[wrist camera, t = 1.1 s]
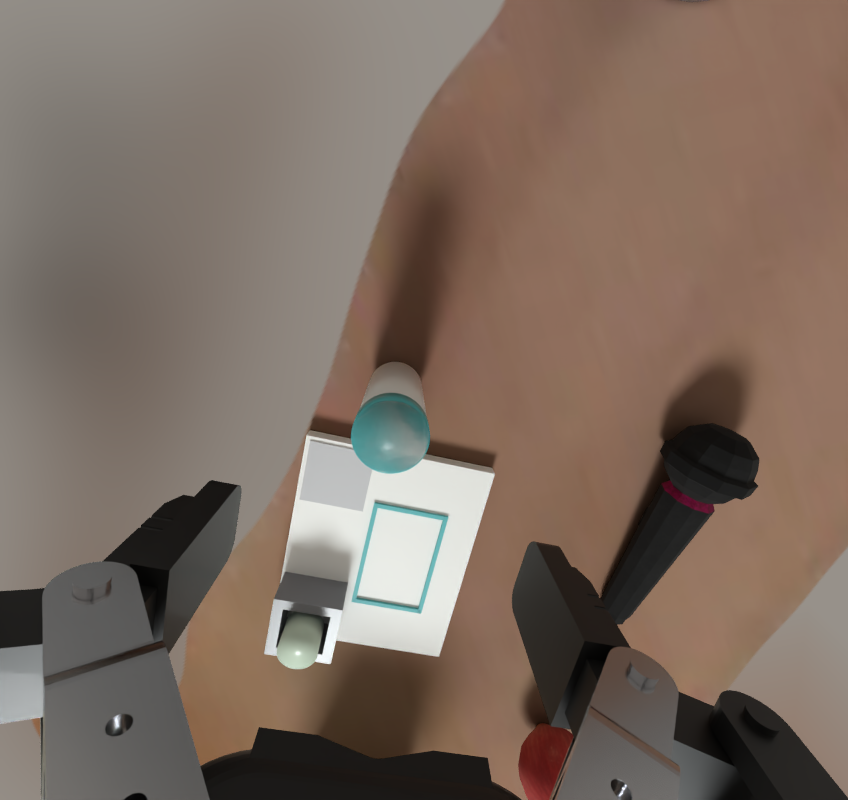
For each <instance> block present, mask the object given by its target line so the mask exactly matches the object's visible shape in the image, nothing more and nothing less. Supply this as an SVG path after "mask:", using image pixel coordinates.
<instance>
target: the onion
mask: <svg viewBox="0 0 848 800" xmlns="http://www.w3.org/2000/svg"><path fill="white" fill-rule="evenodd" d="M573 737H574V736H573V734H572V733H570V732H569V731H567V730H566V729H563V728H559V727H552V726H550V725H548V724H546V723H540V724H538V725H537V726H536V728H535V729H534V730H533V731H532V732H531V733H530V734H529V735H528V737H527V738H526V740H525V741H524V743H523V744H522V746H521V752H520V758H519V764H518V767H519V776H520V780H521V782H522V785H523V788H524V790H525V793H526V796H527V798H528V800H549V799H550V796H551V794H552V791H553V788H554V786H555V783H556V780H557V778H558V775H559V773H560V770H561V767H562V765H563V762H564V759H565V757H566V754H567V752H568V749H569V747H570V744H571V742H572V739H573Z"/></svg>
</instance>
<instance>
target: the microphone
mask: <svg viewBox="0 0 848 800" xmlns="http://www.w3.org/2000/svg"><path fill="white" fill-rule="evenodd" d="M660 452H661V453H662V455H663V457H664V467H665V469H666V472H667V474H668V476H669V478H670V481H666V482H663V483H661V485H660V487H659V489H658V491H657V492H656V494H655V496H654V498H653V500H652V502H651V504H650V506H649V507H648V508H647V509H646V510H645V512H644V514H643V516H642V518H641V520H640V522H639V524H638V525H639V527H638V529H637V530H636V532H635V534H634V536H633V538H632V540H631V542H630V544H629V546H628V548H627V549H626V551H625V553H624V555H623V557H622V559H621V561H620V563H619V565H618V567H617V568H616V570H615V572H614V574H613V576H612V578H611V580H610V582H609V584H608V586H607V587H606V589H605V591H604V593H603V595H602V597H601V599H602V602H603V603H604V605H605V607H606V611H608V612H609V613H610V615H611V616H612V618H613V620H614V621H615V623H616V625H617V624H623V622H624V621H625V620H626V619H627V618H629V617H630V616H631V615H632V614H633V612H634V611H635V610H636V609H637V607H638V606H639V605H640V604H641V602H642V601H643V600H644V599H645V597H646V596H647V595H648V594H649V592H650V591H651V590H652V589H653V587H654V586H655V585H656V584H657V582H658V581H659V580H660V579H661V577H662V576H663V575H664V574H665V572H666V571H667V570H668V569H669V567H670V566H671V565H672V564H673V562H674V561H675V560H676V559H677V557H678V556H679V555H680V554H681V552H682V551H683V550H684V549H685V547H686V546H687V545H688V544H689V542H690V541H691V540H692V539H693V537H694V536H695V535H696V534H697V532H698V531H699V530H700V529H701V527H702V526H703V525H704V524H705V522H706V521H707V520H708V519H709V517H710V516H711V515H712V514H713V512H714V506H713V504H723V503H726V502H728V501H730V500H732V499H735V498H738V499H741V500H742V499H744V498H746V497H748V496H750V495H751V494H752V493H753V492H754V490H755V489H756V488H757V487H758V485H757V484H756V483H755V482H754V479H755V477H756V474H757V472H758V466H759V457H758V455H757V454H756V452H755V450H754V448H753V446H752V445H751V443H750V442H749V441H748V440H747V439H746V438H744V437H743V436H741V435H739V434H737V433H736V432H734V431H732V430H730V429H727V428H725V427H722V426H719V425H716V424H713V423H711V424H703V425H696V426H689V427H687V428H686V429H685V430H683V431H682V432H680V433H679V434H678V435H677V436H676V437H675V438H674V439H673V440H669V441H665V443H664V445H663V446H662V448H661V450H660Z"/></svg>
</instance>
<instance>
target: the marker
mask: <svg viewBox="0 0 848 800" xmlns="http://www.w3.org/2000/svg"><path fill="white" fill-rule="evenodd" d="M351 441H352V446H353V449H354V451H355V453H356V455H357V457H358V458H359V459H360V460H361V462H363V463H364V464H365V465H366V466H367V467H369V468H371V469H373V470H375V471H377V472H381V473H387V474H394V473H400V472H404V471H407V470H409V469H411V468H413V467H414V466H415V465H417V464H418V463H419V462H420V461H421V460H422V459H423V457H424V456H425V454H426V452H427V450H428V447H429V442H430V431H429V424H428V419H427V416H426V411H425V404H424V397H423V390H422V383H421V379H420V377H419V375H418V373H417V372H416V371H415V370H414V369H413V368H412V367H411V366H409V365H407V364H405V363H402V362H389V363H386V364H383V365H381V366H380V367H378V368H377V369H376V370H375V371H374V373H373V374H372V376H371V378H370V381H369V384H368V387H367V390H366V393H365V395H364V398H363V401H362V404H361V407H360V410H359V411H358V413H357V415H356V418H355V421H354V424H353V427H352V432H351Z"/></svg>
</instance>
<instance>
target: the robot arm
mask: <svg viewBox="0 0 848 800" xmlns="http://www.w3.org/2000/svg"><path fill="white" fill-rule="evenodd" d="M681 1H686V2H698V1H708V0H681ZM240 499H241V486H239V485H234V484H229V483H223V482H218V481H213V480H211V481H209V482H208V483H207V484H206V485H205V486H204V487H203V488H202V489H201V490H200V491H199V492H198V493H197V494H196V496H195V497H192V496H187V495H182V496H180V497H178V498H176V499H173V500H171V501H169V502H167V503H164V504H163V505H162V506H161V507H160V508H159V509H158V510H157V511H156V512H155V513H154V514H153V515H152V517H151V518H149V519H147V520H146V521H145V522H144V523H143V524H142V525H141V528H138V529H137V530H136V531H135V532H134V533H133V534H131V535H130V536H129V537H128V538H127V539H126V540H125V541H124V542H123V543H122V544H121V545H120V546H119V547H118V548H116V549H115V550H114V551H113V552H112V553H111V554H110V555H109V556H108V557H107V558H106V559H105V560H104V561H103V562H93V563H88V564H83V565H79V566H76V567H73V568H71V569H69V570H66V571H64V572H63V573H61V574H59V575H58V576H56V577H55V578H53V579H52V580H51V581H50V582H49V583H48V584H47V586H46V587H45V588H42V589H32V590H15V591H0V724H2V723H8V722H14V721H21V720H28V719H34V718H40V741H41V800H521V799H520V798H519V797H517V796H516V795H514V794H513V793H512V792H510V791H509V790H507V789H505V788H503V787H502V786H500V785H498V784H496V783H494V782H492V781H491V775H490V769H489V763H488V758H484V757H476V756H469V755H461V754H454V753H446V752H439V751H429V752H423V753H416V754H410V755H403V756H397V757H390V758H384V759H373V758H370V757H368V756H365V755H363V754H361V753H358V752H356V751H354V750H351V749H349V748H346V747H344V746H342V745H339V744H337V743H335V742H332V741H330V740H328V739H325V738H323V737H321V736H318V735H312V734H305V733H297V732H290V731H282V730H275V729H267V728H260V727H259V729H258V732H257V735H256V738H255V742H254V745H253V748H252V749H251V750H245V751H239V752H236V753H232V754H228V755H225V756H222V757H219V758H217V759H214V760H212V761H209V762H207V763H205V764H203V765H202V766H200V764H199V760H198V756H197V753H196V749H195V746H194V742H193V739H192V735H191V732H190V728H189V725H188V721H187V718H186V714H185V711H184V707H183V704H182V700H181V697H180V693H179V689H178V686H177V682H176V679H175V675H174V672H173V668H172V665H171V661H170V658H169V653H170V651H171V649H172V648H173V646H174V644H175V643H176V641H177V640H178V638H179V637H180V635H181V633H182V632H183V630H184V629H185V627H186V626H187V624H188V622H189V621H190V619H191V618H192V616H193V614H194V613H195V611H196V610H197V608H198V606H199V605H200V603H201V602H202V600H203V599H204V597H205V595H206V594H207V592H208V591H209V589H210V587H211V586H212V584H213V583H214V581H215V579H216V578H217V576H218V575H219V573H220V572H221V570H222V568H223V567H224V565H225V564H226V562H227V560H228V558H229V556H230V553H231V551H232V547H233V544H234V540H235V534H236V527H237V520H238V513H239V505H240ZM512 608H513V612H514V616H515V619H516V622H517V625H518V628H519V631H520V634H521V637H522V640H523V643H524V646H525V649H526V652H527V656H528V659H529V662H530V665H531V668H532V671H533V674H534V677H535V680H536V683H537V686H538V689H539V692H540V695H541V698H542V702H543V705H544V708H545V711H546V714H547V717H548V720H549V723H550V726H552V727H559V728H566V729H571V731H572V734H573V736H574V737H573V739H572V742H571V744H570V747H569V749H568V752H567V754H566V757H565V759H564V762H563V765H562V767H561V770H560V773H559V775H558V778H557V780H556V783H555V786H554V788H553V791H552V794H551V796H550V799H549V800H848V798H847V796H846V795H845V794H844V793H843V791H842V790H841V789H840V788H839V786H838V785H837V784H836V783H835V782H834V780H833V779H832V778H831V777H830V775H829V774H828V773H827V772H826V770H825V769H824V768H823V767H822V765H821V764H820V763H819V762H818V761H817V760H816V758H815V757H814V756H813V754H812V753H811V752H810V751H809V749H808V748H807V747H806V746H805V745H804V743H803V742H802V741H801V740H800V738H799V737H798V736H797V735H796V733H795V732H794V731H793V730H792V729H791V728H790V726H788V724H787V723H786V722H785V721H784V720H783V719H782V718H781V717H780V716H779V715H777V714H776V713H775V712H774V711H773V710H771V709H770V708H769V707H767V706H766V705H764V704H763V703H761V702H760V701H758V700H756V699H754V698H752V697H750V696H748V695H746V694H743V693H741V692H737V691H731V690H729V691H724V692H722V693H721V694H720V696H719V698H718V700H717V702H716V704H715V706H712V705H709V704H707V703H704V702H702V701H700V700H697V699H695V698H692V697H690V696H688V695H685V694H683V693H680V692H678V688H677V686H676V684H675V682H674V680H673V679H672V677H671V676H670V675H669V673H668V672H667V671H666V670H665V669H664V668H663V667H662V666H661V665H660V664H659V663H657V662H656V661H655V660H653V659H652V658H650V657H649V656H647V655H646V654H644V653H642V652H640V651H637V650H635V649H632V648H631V647H630V646H629V644H628V643H627V641H626V639H625V638H624V636H623V634H622V633H621V631H620V629H619V628H618V626H617V625H616V623H615V621H614V620H613V618H612V616H611V615H610V613H609V612H608V611H606V607H605V605H604V603H603V602H602V600H601V599H600V598H599V595H598V594H597V592H596V590H595V589H594V587H593V585H592V584H591V582H590V581H589V580H588V579H587V578H586V577H585V576H584V575H583V574H582V573H581V572H580V571H578V570H577V569H576V568H574V567H571V566H570V564H569V562H568V560H567V559H566V557H565V555H564V553H563V552H562V550H561V548H560V547H559V546H555V545H549V544H544V543H539V542H531V543H530V544H529V545H528V547H527V550H526V553H525V556H524V559H523V562H522V565H521V568H520V571H519V573H518V576H517V579H516V582H515V585H514V589H513V594H512Z"/></svg>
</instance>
